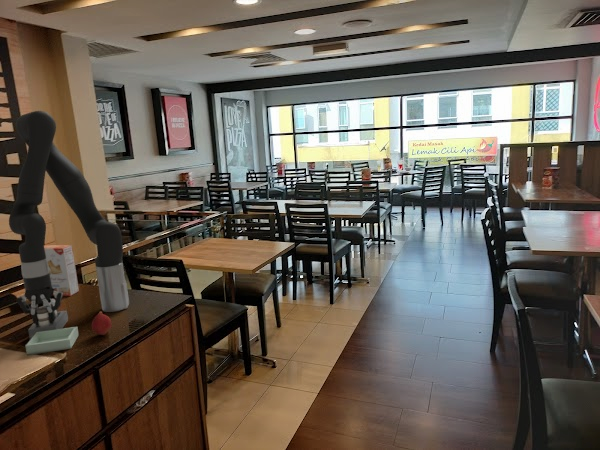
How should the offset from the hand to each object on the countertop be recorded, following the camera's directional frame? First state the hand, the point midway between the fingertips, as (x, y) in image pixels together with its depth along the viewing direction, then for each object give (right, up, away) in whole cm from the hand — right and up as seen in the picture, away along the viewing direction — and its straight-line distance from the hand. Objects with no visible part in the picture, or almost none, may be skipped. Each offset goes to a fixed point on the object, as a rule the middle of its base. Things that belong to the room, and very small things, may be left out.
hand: (44, 323), depth 145 cm
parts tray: (+8, -5, -8) cm, 12 cm away
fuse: (-1, -2, +7) cm, 8 cm away
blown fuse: (0, -4, +1) cm, 4 cm away
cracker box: (-17, +3, +41) cm, 44 cm away
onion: (+21, -3, -3) cm, 21 cm away
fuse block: (-1, -3, +4) cm, 5 cm away
